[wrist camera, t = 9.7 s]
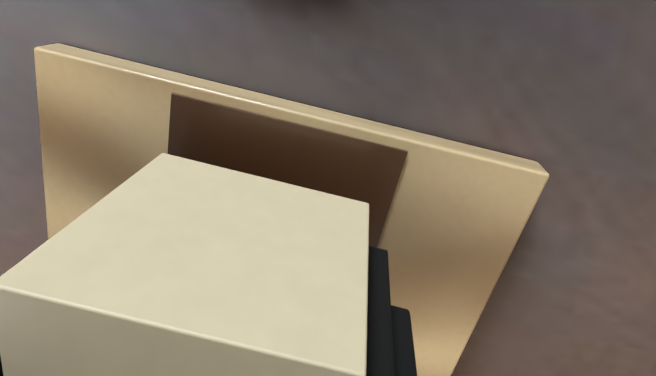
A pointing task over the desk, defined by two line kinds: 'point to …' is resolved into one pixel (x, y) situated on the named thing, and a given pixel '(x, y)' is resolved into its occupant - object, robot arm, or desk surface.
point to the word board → (297, 175)
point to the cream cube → (194, 282)
